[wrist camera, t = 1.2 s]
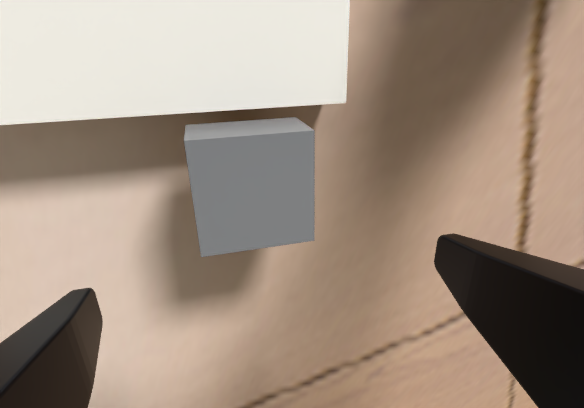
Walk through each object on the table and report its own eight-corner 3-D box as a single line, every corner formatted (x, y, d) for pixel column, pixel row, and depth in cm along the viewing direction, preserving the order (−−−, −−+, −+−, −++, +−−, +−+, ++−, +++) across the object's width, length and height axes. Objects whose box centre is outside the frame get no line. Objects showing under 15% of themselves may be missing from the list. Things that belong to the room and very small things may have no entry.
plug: (281, 107, 20) (314, 130, 14) (284, 192, 22) (314, 240, 16) (187, 113, 19) (183, 140, 13) (199, 202, 21) (201, 257, 15)
